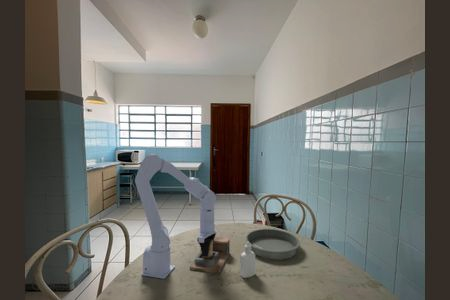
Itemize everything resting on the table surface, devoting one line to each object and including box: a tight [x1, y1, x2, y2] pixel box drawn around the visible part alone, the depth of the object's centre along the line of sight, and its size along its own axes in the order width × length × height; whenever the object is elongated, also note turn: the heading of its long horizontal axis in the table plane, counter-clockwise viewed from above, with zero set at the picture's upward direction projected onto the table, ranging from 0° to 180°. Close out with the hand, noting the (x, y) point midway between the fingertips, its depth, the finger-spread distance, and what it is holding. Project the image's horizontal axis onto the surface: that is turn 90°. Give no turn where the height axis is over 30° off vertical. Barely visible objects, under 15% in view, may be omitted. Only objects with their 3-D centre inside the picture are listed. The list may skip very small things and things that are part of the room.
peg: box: [203, 240, 213, 260], centre depth 85 cm, size 4×4×7 cm
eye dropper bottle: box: [239, 241, 256, 279], centre depth 77 cm, size 4×6×12 cm
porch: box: [189, 236, 231, 275], centre depth 87 cm, size 12×16×6 cm
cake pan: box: [245, 228, 301, 260], centre depth 99 cm, size 25×25×4 cm
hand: (207, 252), depth 85 cm, fingers closed on peg, 4 cm apart
